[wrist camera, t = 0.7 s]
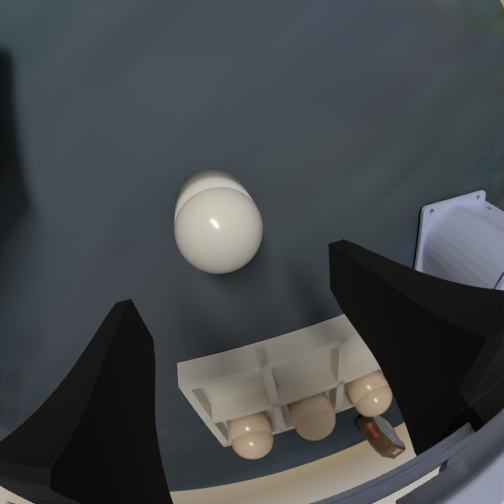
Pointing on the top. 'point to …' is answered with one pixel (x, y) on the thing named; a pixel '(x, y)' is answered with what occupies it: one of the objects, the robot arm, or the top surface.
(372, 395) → the brown egg
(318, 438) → the brown egg middle
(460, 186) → the top surface
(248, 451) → the brown egg
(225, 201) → the cream egg
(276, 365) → the egg carton
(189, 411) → the top surface
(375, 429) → the tin
